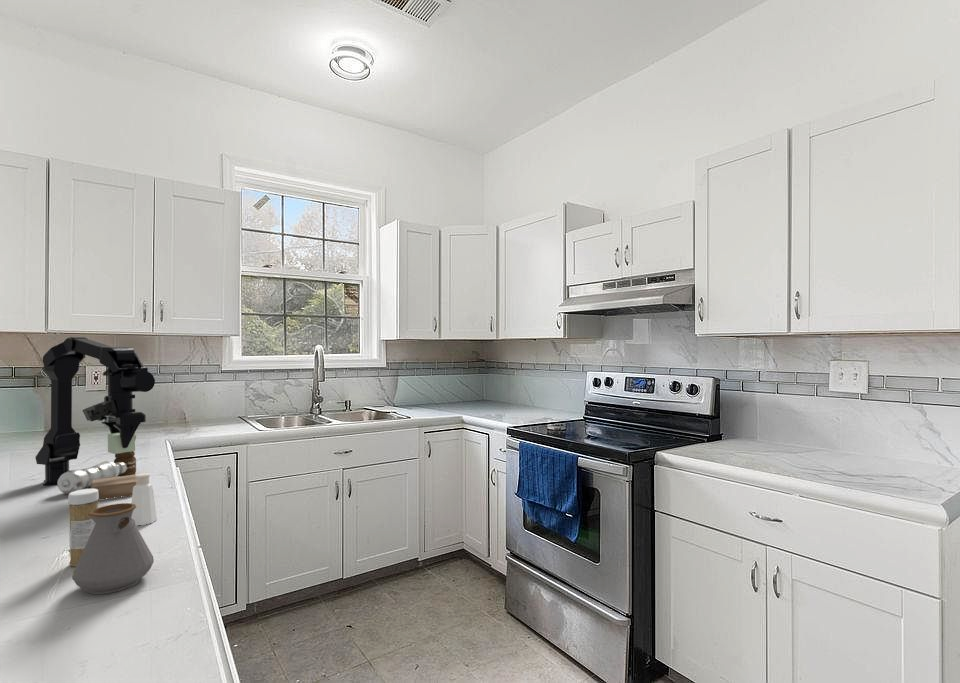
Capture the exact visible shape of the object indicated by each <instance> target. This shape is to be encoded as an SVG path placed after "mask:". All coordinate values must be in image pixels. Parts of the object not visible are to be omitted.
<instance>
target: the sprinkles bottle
mask: <svg viewBox="0 0 960 683" xmlns="http://www.w3.org/2000/svg"><path fill="white" fill-rule="evenodd" d="M67 495H68V497H67V498H68V499H67V500H68V502H67V503H68V504H69V505H68V506H69V552H70V553H69V554H70V556H69V557H70V559H69V560H70V561H69V565H70V566H71V567H76V566H77V563H78V561H79V559H80V557H81V555H82V552H83V550H84V548H85V546H86V544H87V541H88V539H89V537H90V535H91V533H92V531H93V528H94V526H95V524H96V523H95V522H94V521H93V519H92V518H91V517H90V516H89V515H88V513H89V512H91V511H92V510H94V509H97V508H99V507H98V506H99V505H98V502H99V501H98V499H99V493H98V490H97V489H91V488H85V489H82V490H77V491H74V492H71V493H69V494H67Z"/></svg>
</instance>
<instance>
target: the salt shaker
mask: <svg viewBox="0 0 960 683" xmlns="http://www.w3.org/2000/svg"><path fill="white" fill-rule="evenodd" d="M150 475H151V474H150V473H147V472H146V473H145V472H144V473H143V472H142V473H139V474H136V476H135V477H136V486H134V487H133V493H132V496H131V503H132V504H135V505H136V508H135V509H134V510H133V513H132V517H131V518H132V519H133V520H134V521H135V525H136V527H139V526H138V525H142V526H146V524H147V525H149V524H150V523H151V524H153V523H155V522H157V521H158V517H157V510H156V509H157V508H156V502H155V495H154V489H153V487H154V486H153V484H151V483H150ZM154 521H155V522H154ZM151 524H150V525H151Z"/></svg>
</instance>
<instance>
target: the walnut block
mask: <svg viewBox="0 0 960 683" xmlns="http://www.w3.org/2000/svg"><path fill="white" fill-rule="evenodd" d="M136 475H137V474H136V473H135V474H133V475H127V476H117V477H112V478H104V479H96V480H93V481H92V486H90V489H97V490H98V493H99V499H106V498H113V499H115V498H114V497H120V498H122V497H121V496H127V497H131V496H130V495H132V493H133V487H134V486H136V477H135V476H136ZM99 499H98V500H99ZM106 500H107V499H106ZM99 501H100V500H99Z"/></svg>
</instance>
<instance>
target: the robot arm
mask: <svg viewBox="0 0 960 683" xmlns="http://www.w3.org/2000/svg"><path fill="white" fill-rule="evenodd" d="M137 354H138V353H136V352H135V349H134V348H133V347H131V346H130V347H129V346H111V345H108V344H104V343H101V342H97V341H94V340H92V339H89V338H87V337H84V336H81V337H80V336H79V337H77V336H75V337H74V336H70V337H68V338H66V339H64V341H63V342H60V343H58V344H56V345H54V346H52V347H50V348H49V349H48V351H46V352H45V353H44V355H43V356H42V364H43V369H44V373H46V375H47V376H48V378H49V379H50V381H51V382H50V387H51V388H50V428H49V430H48V431H47V433H46V434H45V435H44V437H43V443H42V446H41V448H40V449H39V451H38V452H37V454H36V455H35V461H36V465H44V477H45V478H44V479H43V483H42V486H49V485H57V482H58V479H59V477H60V476H61V475H62V474H63V473H65V472H68V471H70V461H71V460H72V461H73V460H77V459H78V455H79V451H80V448H81V447H80V446H81V442H80V440H81V439H80V438H81V434H80V433H79V432H77V431H75V429H74V428H73V426H72V425H73V421H72V420H73V418H72V417H73V413H72V412H73V411H72V410H73V379H74V377H75V376H76V374H78V371H79V368H80V363H81V362H82V361H84V359H85V358H86V356H88V357H90V358H94V359H97V360H98V361H99V364H101V365H102V366H104V367H105V368H107V369H106V370H104V372H102V376H103V377H104V376H107V395H105V397H104V396H103V397H104V401H102V402H98V403H97V404H93V405H91V406H89V407H86V408H84V409H82V413H83V414H84V416H85V419H86V421H87V422H88V421H90V422H94V421H101V424H103V425H104V426H105V427H107V428H108V429H109V431H110V434H113V433H120V438H121V443H122V447H123V448H127V447H128V445H129V443H130V441H131V439H132V437H133V435H134V433H136V431H137V429H138V427H139V425H141V423H146V421H147V417H146V414H145V413H143V412H142V411H136V408H134V407H133V404H134V403H133V399H135V398H136V394H133V393H147V392H150V391H151V390H152V389H153V388H154V386H155V383H156V379H155V377H154V375H153V373H151V372H149V368H148V366H146V367H145V366H143V365H144V364H143V362H141V360H140V358H139V356H138V355H137ZM103 420H104V421H103Z"/></svg>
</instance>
